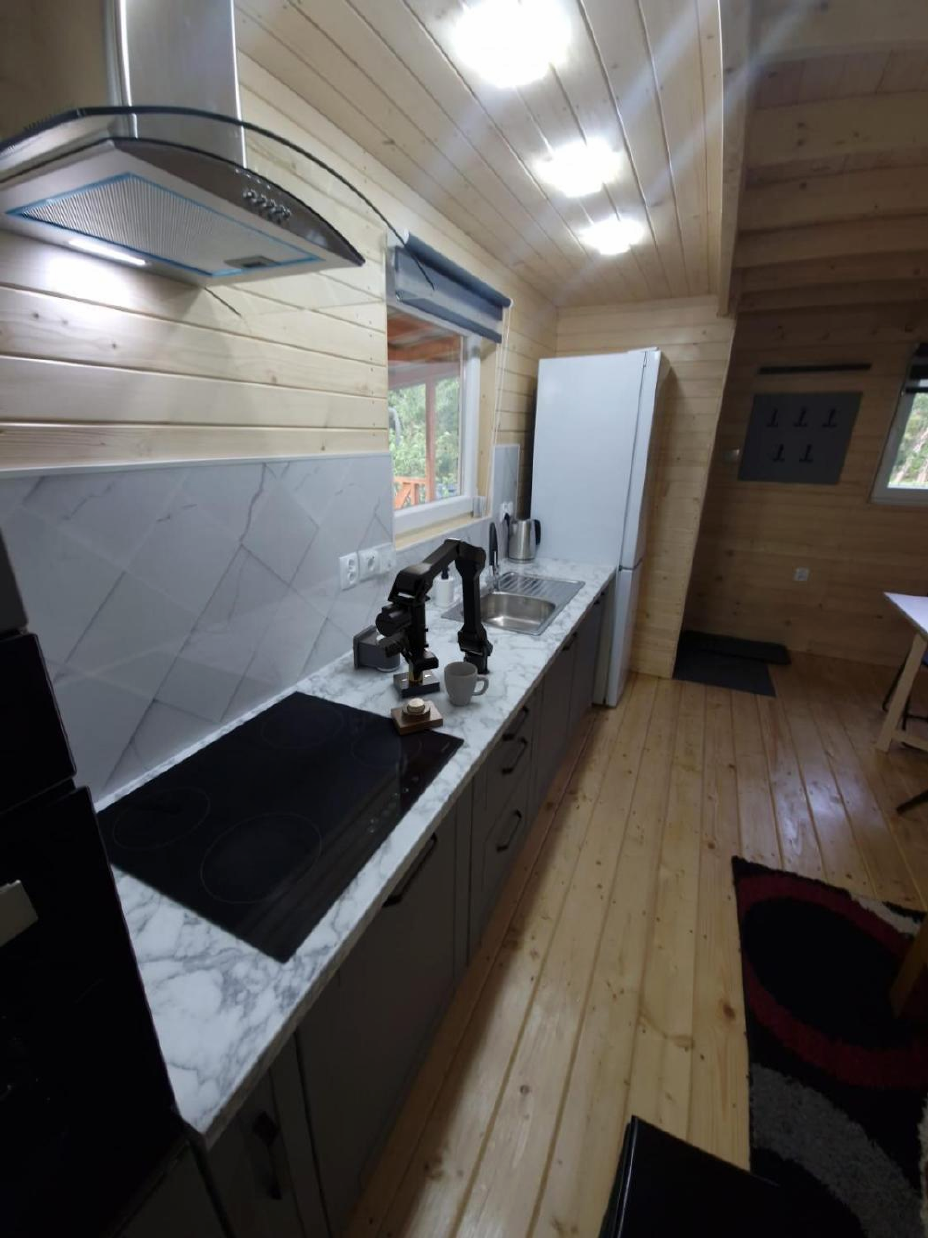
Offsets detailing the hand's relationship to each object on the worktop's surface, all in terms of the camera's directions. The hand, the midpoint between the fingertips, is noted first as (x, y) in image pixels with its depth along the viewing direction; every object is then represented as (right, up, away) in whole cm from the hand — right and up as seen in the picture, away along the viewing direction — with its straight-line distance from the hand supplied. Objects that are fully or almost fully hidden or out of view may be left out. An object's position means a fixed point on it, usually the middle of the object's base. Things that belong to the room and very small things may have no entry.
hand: (415, 679), depth 124 cm
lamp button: (0, -7, 0) cm, 7 cm away
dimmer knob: (-2, -2, +16) cm, 16 cm away
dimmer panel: (-2, -4, +17) cm, 18 cm away
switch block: (0, -11, +2) cm, 11 cm away
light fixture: (-14, +1, +30) cm, 33 cm away
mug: (+13, -7, +11) cm, 18 cm away
